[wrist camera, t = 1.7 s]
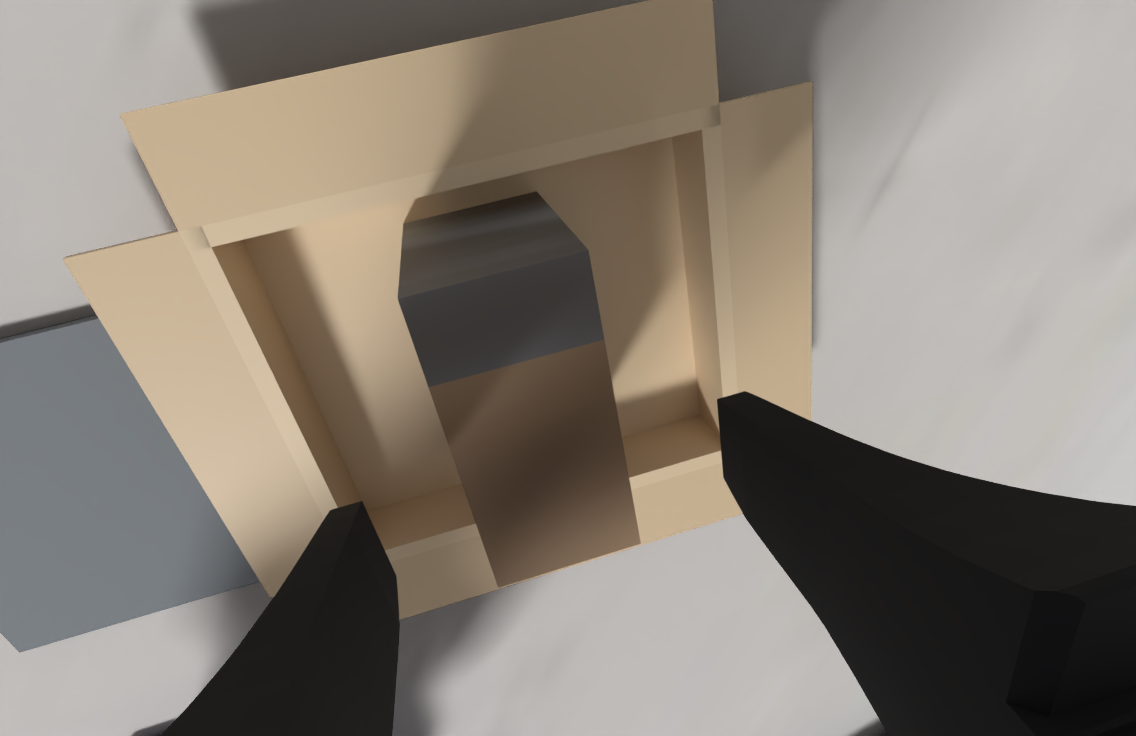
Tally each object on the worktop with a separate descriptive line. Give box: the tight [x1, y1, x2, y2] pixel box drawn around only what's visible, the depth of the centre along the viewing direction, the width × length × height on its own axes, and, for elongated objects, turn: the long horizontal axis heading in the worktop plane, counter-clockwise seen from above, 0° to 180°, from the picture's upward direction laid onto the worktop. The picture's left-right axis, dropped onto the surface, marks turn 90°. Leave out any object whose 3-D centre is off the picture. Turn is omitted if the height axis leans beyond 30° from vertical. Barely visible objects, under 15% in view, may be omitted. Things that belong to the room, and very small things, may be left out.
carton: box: [63, 0, 813, 620], centre depth 18 cm, size 16×18×2 cm
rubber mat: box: [0, 315, 259, 653], centre depth 18 cm, size 10×8×1 cm
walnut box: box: [398, 191, 641, 588], centre depth 16 cm, size 8×4×6 cm, turn 11°
